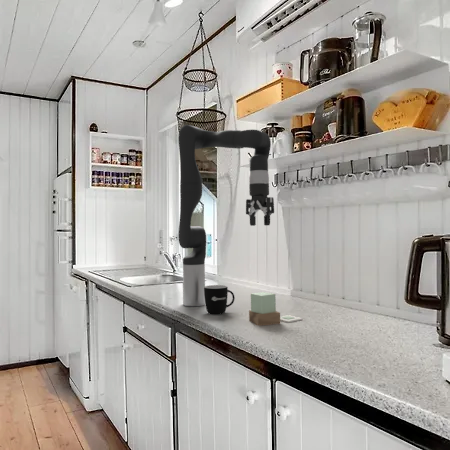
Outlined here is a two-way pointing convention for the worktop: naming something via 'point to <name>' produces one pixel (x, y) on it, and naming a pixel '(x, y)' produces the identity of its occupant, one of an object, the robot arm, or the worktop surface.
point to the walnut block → (264, 318)
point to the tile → (289, 318)
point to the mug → (217, 299)
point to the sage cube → (263, 302)
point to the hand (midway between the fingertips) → (259, 225)
